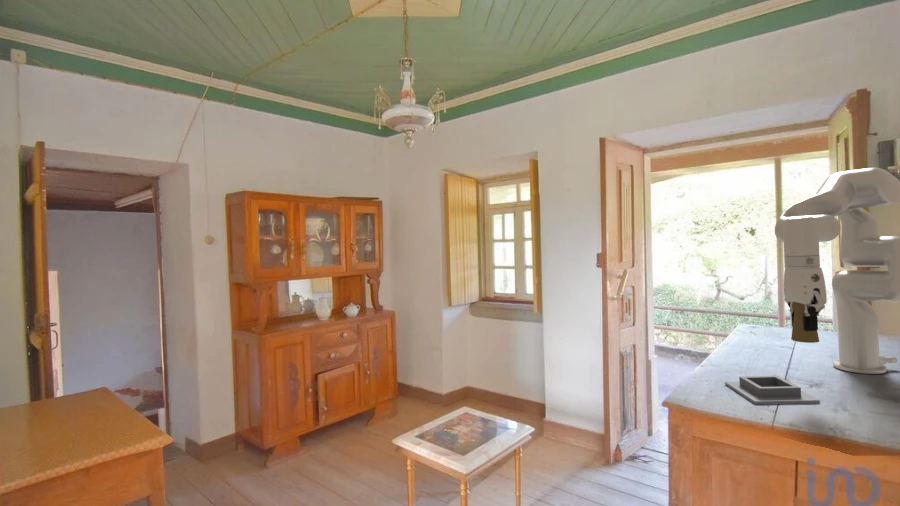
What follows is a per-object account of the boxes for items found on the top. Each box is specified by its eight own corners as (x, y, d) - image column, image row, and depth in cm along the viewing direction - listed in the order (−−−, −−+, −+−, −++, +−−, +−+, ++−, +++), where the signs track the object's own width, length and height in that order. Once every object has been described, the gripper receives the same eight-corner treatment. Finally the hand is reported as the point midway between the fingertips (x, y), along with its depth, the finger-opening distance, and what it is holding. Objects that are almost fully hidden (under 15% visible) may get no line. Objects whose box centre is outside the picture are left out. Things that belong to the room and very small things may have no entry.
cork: (785, 338, 122) (783, 299, 122) (804, 336, 122) (803, 297, 122) (805, 343, 116) (803, 302, 116) (825, 341, 116) (823, 300, 116)
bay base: (781, 383, 131) (781, 372, 131) (819, 403, 116) (819, 390, 115) (725, 384, 133) (724, 373, 133) (755, 404, 118) (754, 392, 117)
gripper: (841, 262, 110) (844, 334, 110) (795, 259, 126) (797, 322, 127) (809, 264, 111) (812, 336, 111) (767, 261, 127) (770, 323, 128)
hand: (804, 328), depth 119 cm, fingers closed on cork, 3 cm apart
